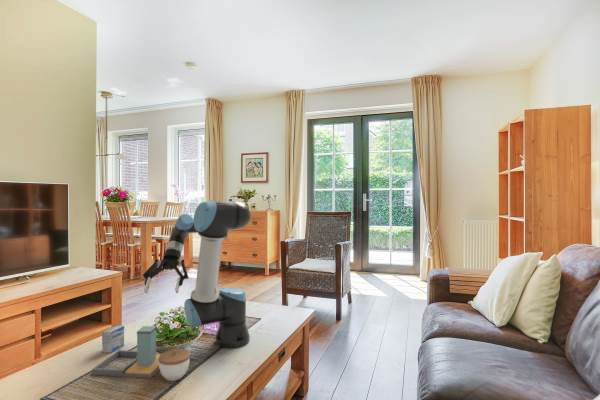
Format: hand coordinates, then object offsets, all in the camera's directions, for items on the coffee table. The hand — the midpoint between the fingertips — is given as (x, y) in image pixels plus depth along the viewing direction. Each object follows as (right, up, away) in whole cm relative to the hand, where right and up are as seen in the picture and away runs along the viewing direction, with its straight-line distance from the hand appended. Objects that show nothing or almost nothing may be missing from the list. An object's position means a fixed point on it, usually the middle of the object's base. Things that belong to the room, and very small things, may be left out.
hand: (161, 291), depth 151 cm
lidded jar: (+16, -23, -28) cm, 40 cm away
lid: (+4, -23, -21) cm, 31 cm away
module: (+3, -21, -21) cm, 30 cm away
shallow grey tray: (-7, -23, -20) cm, 31 cm away
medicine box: (-18, -23, -6) cm, 30 cm away
